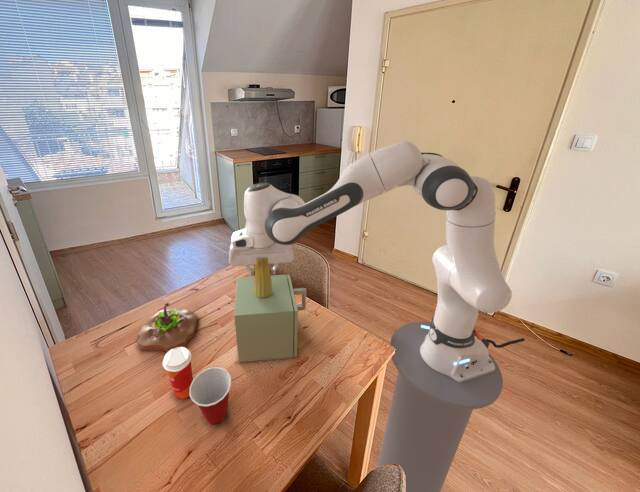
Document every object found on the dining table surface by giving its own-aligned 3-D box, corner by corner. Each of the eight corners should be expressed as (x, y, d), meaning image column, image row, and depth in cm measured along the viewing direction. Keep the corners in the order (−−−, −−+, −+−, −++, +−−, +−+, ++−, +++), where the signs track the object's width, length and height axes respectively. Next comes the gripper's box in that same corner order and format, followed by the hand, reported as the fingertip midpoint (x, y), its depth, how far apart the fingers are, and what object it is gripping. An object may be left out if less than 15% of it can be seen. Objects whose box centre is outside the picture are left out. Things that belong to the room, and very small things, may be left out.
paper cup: (170, 382, 89) (162, 348, 84) (196, 375, 91) (190, 342, 86) (169, 406, 82) (161, 371, 77) (197, 398, 84) (191, 364, 79)
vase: (256, 299, 94) (253, 261, 88) (252, 288, 99) (250, 251, 93) (274, 296, 95) (273, 258, 89) (269, 285, 101) (268, 248, 95)
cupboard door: (304, 314, 116) (305, 273, 108) (314, 355, 98) (316, 309, 90) (287, 315, 115) (287, 274, 107) (294, 356, 97) (294, 311, 89)
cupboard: (286, 316, 115) (286, 274, 107) (293, 357, 97) (293, 311, 89) (240, 319, 113) (236, 277, 105) (238, 362, 96) (234, 315, 88)
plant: (204, 314, 117) (201, 291, 112) (185, 354, 99) (180, 328, 94) (157, 310, 119) (151, 288, 114) (129, 349, 101) (122, 324, 96)
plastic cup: (192, 404, 83) (185, 374, 78) (229, 389, 87) (225, 360, 82) (198, 442, 74) (192, 411, 69) (239, 424, 78) (236, 394, 73)
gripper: (293, 229, 92) (292, 266, 98) (227, 233, 91) (231, 270, 96) (295, 238, 87) (295, 277, 92) (226, 242, 85) (230, 282, 91)
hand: (262, 274), depth 94 cm, fingers closed on vase, 5 cm apart
